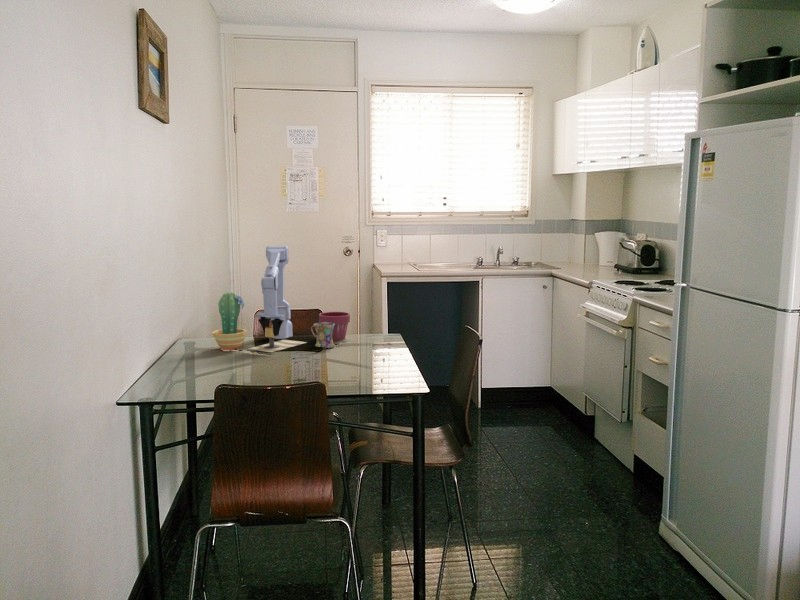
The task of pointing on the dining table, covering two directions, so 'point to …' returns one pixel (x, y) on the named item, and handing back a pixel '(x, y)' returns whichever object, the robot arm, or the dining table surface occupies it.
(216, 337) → the potted cactus
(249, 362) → the dining table surface
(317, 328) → the mug
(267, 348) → the post board
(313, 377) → the dining table surface
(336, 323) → the plant pot
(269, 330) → the brass collar
